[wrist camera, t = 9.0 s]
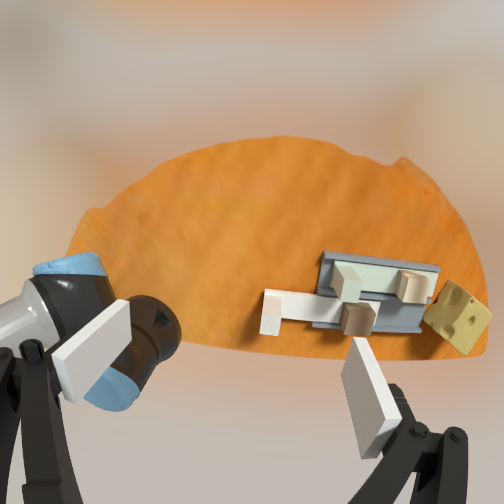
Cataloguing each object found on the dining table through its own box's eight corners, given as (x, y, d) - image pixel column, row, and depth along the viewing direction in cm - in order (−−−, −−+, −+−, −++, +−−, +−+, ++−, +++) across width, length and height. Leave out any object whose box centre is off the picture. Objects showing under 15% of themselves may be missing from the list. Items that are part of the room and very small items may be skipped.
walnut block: (338, 321, 52) (343, 334, 47) (343, 300, 51) (349, 312, 46) (363, 323, 51) (369, 336, 47) (368, 302, 50) (376, 314, 46)
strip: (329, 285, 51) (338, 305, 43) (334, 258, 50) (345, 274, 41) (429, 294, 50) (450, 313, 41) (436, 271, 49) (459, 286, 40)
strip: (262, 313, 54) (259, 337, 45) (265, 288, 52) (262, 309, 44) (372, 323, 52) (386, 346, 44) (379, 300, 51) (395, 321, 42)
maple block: (392, 291, 49) (402, 302, 45) (398, 269, 48) (408, 278, 44) (414, 293, 49) (425, 303, 44) (420, 272, 48) (431, 280, 43)
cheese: (419, 317, 53) (440, 339, 43) (449, 275, 50) (474, 292, 40) (445, 335, 53) (465, 358, 43) (472, 297, 50) (496, 315, 41)
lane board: (310, 320, 54) (312, 326, 52) (323, 250, 51) (325, 254, 48) (417, 327, 53) (421, 333, 50) (434, 264, 50) (440, 268, 47)
